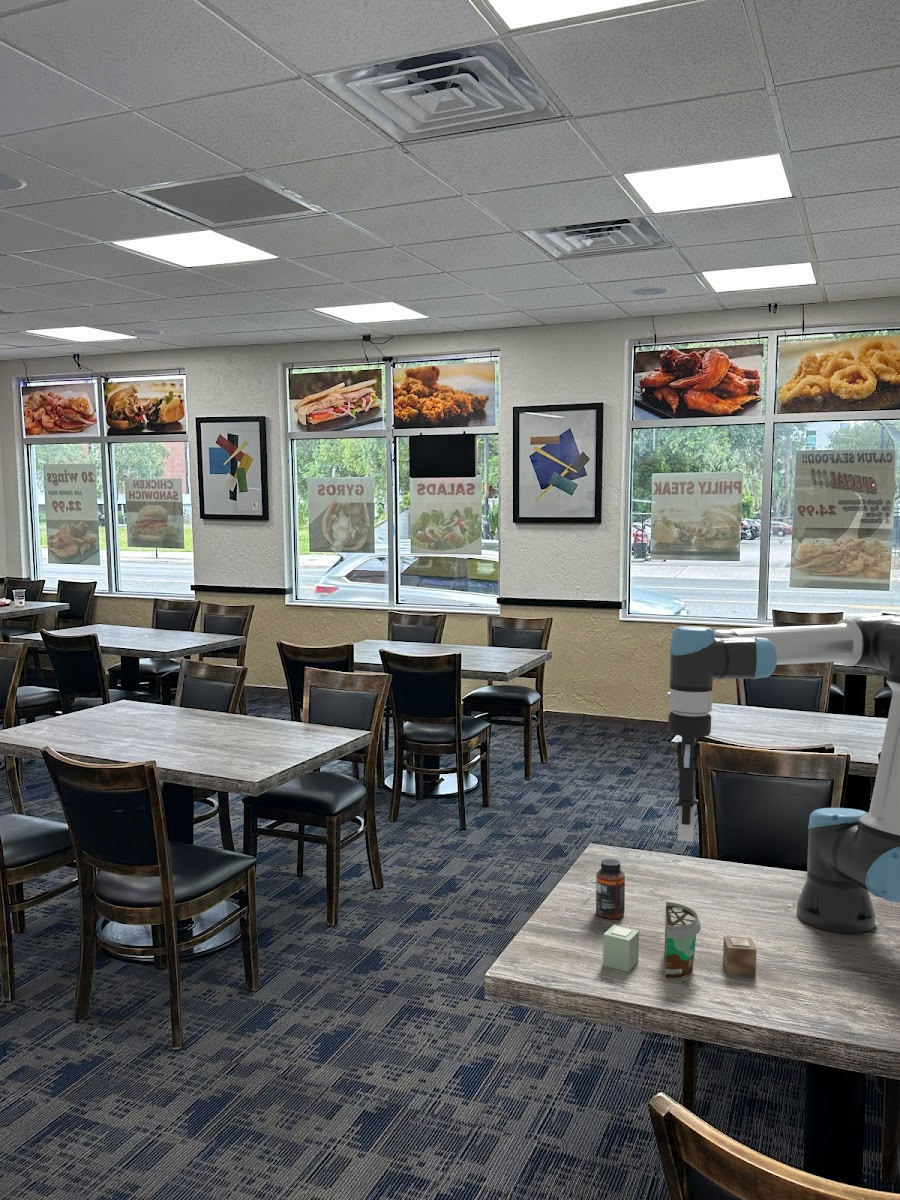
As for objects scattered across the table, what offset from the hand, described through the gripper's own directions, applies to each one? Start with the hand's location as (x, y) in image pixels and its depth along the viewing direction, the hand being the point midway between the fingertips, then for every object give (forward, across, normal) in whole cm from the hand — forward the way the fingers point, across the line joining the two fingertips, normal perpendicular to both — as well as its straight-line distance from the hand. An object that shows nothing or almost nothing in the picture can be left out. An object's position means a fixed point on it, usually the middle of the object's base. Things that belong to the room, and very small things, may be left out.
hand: (685, 839), depth 172 cm
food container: (+24, 0, 0) cm, 24 cm away
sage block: (+24, +2, -11) cm, 27 cm away
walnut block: (+24, -3, +10) cm, 26 cm away
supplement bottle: (+24, -20, -16) cm, 35 cm away
